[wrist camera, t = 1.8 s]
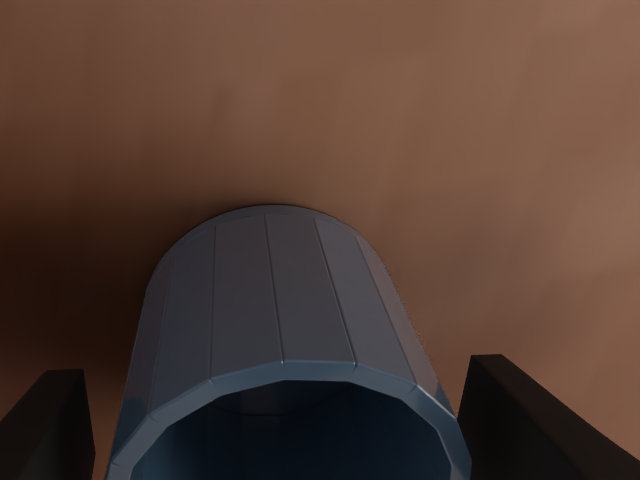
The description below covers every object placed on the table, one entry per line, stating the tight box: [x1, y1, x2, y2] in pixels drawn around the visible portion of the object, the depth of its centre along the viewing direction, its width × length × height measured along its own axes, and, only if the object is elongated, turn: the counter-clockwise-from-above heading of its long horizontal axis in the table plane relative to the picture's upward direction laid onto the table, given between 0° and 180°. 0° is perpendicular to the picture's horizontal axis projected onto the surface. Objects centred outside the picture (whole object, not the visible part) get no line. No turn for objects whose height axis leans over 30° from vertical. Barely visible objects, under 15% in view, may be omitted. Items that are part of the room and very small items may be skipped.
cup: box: [104, 205, 472, 480], centre depth 12 cm, size 6×6×5 cm
